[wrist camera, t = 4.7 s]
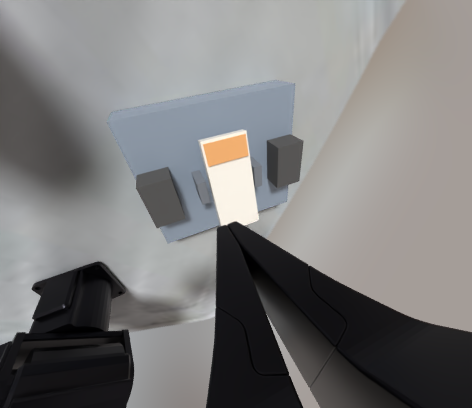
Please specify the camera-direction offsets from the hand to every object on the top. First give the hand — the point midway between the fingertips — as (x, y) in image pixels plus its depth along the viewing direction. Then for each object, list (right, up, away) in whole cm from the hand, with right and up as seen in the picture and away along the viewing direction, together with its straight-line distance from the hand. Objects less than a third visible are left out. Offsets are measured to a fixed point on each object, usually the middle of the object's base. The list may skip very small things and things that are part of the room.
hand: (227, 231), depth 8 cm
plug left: (-6, +2, +9) cm, 11 cm away
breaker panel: (-2, +6, +12) cm, 13 cm away
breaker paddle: (0, +3, +8) cm, 8 cm away
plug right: (+4, +6, +11) cm, 13 cm away
